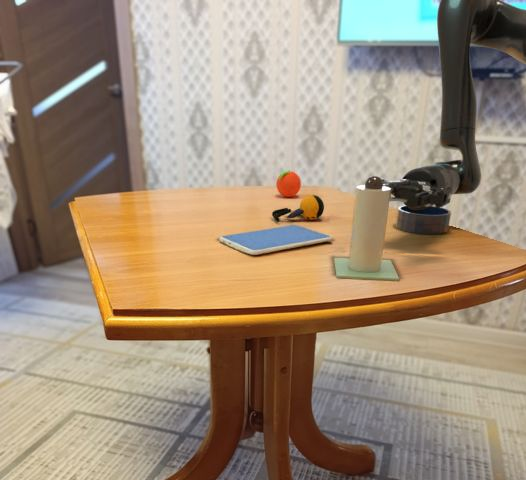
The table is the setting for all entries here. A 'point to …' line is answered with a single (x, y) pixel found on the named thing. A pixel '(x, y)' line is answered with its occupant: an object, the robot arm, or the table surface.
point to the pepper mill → (369, 225)
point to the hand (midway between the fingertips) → (391, 198)
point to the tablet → (274, 239)
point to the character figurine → (303, 209)
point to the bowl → (423, 220)
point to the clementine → (288, 184)
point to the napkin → (383, 274)
